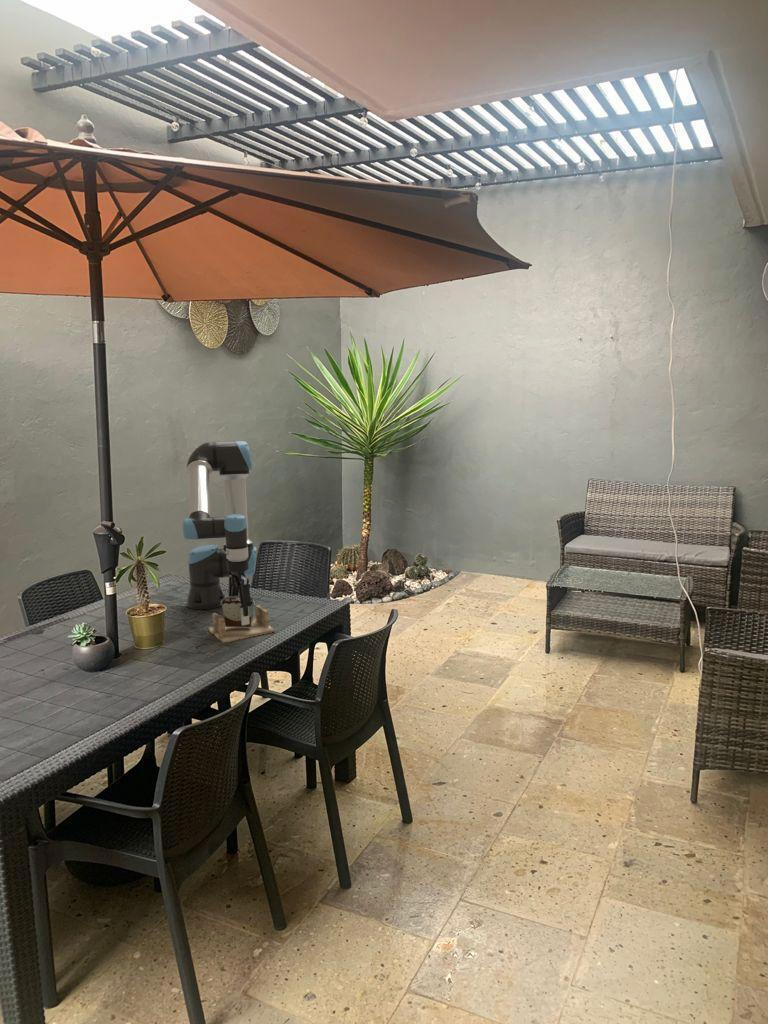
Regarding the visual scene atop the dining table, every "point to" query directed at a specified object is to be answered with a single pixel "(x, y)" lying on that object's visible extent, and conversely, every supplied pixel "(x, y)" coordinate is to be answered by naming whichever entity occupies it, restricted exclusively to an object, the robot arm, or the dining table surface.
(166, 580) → the dining table surface
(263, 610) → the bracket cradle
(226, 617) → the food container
